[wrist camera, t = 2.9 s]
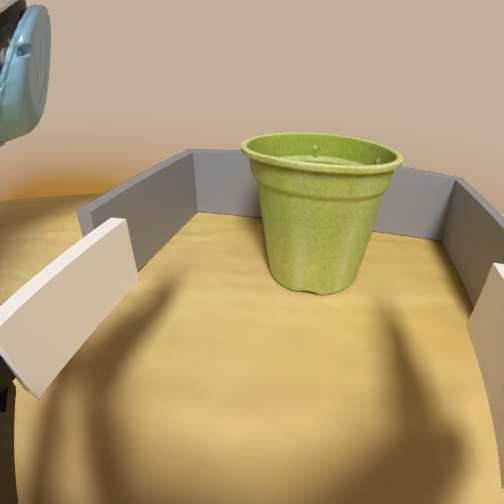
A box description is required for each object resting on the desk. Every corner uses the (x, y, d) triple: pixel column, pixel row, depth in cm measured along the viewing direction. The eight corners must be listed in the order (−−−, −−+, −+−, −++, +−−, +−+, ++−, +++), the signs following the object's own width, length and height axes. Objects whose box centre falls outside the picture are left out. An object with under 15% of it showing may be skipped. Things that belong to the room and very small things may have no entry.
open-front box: (100, 294, 19) (76, 211, 16) (191, 206, 31) (187, 149, 28) (504, 353, 13) (548, 269, 10) (448, 236, 26) (462, 178, 23)
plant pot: (301, 339, 16) (319, 174, 11) (220, 258, 23) (213, 138, 18) (403, 281, 20) (431, 159, 15) (317, 228, 27) (324, 129, 22)
